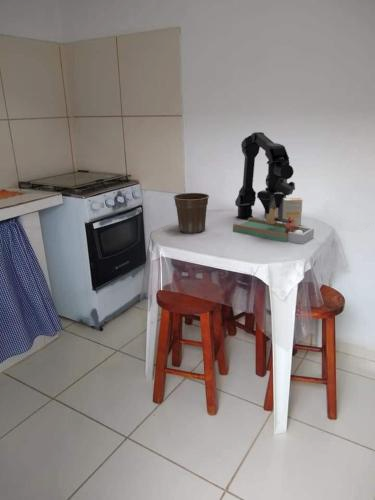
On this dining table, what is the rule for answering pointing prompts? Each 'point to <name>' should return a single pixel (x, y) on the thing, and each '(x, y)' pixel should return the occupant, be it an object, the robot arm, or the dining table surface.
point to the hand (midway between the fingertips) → (273, 211)
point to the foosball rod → (280, 219)
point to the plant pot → (191, 211)
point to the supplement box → (292, 209)
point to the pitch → (273, 231)
